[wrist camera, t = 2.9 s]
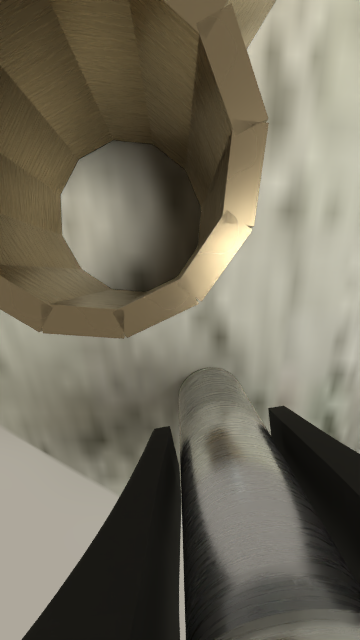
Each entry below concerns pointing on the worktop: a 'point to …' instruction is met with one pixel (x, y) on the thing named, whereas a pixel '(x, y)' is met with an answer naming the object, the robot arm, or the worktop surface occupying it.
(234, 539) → the hinge pin
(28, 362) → the worktop surface
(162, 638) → the robot arm
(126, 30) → the hinge
